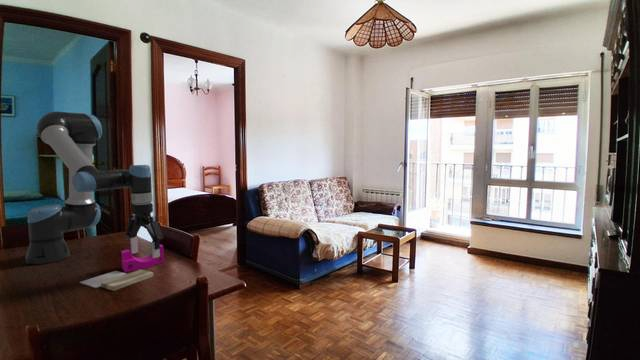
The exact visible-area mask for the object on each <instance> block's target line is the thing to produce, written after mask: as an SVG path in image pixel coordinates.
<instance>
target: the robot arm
mask: <svg viewBox="0 0 640 360" xmlns="http://www.w3.org/2000/svg"><path fill="white" fill-rule="evenodd" d="M36 131H37V132H36V133H37V135H38V137H39V138H40V139H41V141H42V142H43V143H44V144H47V145H49V146H50V147H51V149H52V150H53V151H54V152H55V154H56V155H57V156H58V157H59V158H60V159H61V161H62V162H63V164H64V165H65V166H66V167H67V168H68V198H67V199H66V200H65V201H64V206H62V205H61V204H58V203H55V204H54V203H53V204H50V205H49V204H47V205H42V206H38V207H34V208H32V209H30V210H29V211H28V212H27V220H26V222H27V227H28V239H29V246H28V249H27V252H26V254H25V263H26V264H28V265H43V264H51V263H55V262H59V261H62V260H65V259H68V258H69V257H70V256H71V254H70V249H69V247H68V245H67V243H66V240H65V239H64V233H69V232H73V231H78V230H85V229H89V228H93V227H95V226H97V224H98V223H99V222H100V220H101V217H102V216H101V215H102V211H101V207H100V205H99V204H98V203H96V200H95V199H94V198H93V197H92V192H98V191H108V190H117V189H118V190H119V189H130V195H131V196H130V199H131V214H129V221H128V224H127V229H126V232H125V236H126V237H128V238H129V243H130V244H129V245H130V252H131V255H133V254H136V253H137V254H138V253H139V240H138V239H139V238H138V237H139V236H138V233H139V230H140V229H141V227H142V228H144V229H146V231H147V232H148V234H149V236H150V238H151V240H152V241H151V252H152V253H151V254H152V256H153V258H156V257H158V258H160V257H159V256H160V241H161V240H164V236H163V233H162V230H161V227H160V225H159V223H158V217H157V215H152V213H153V212H154V207H153V206H154V205H153V203H152V202H153V191H152V189H153V188H152V187H153V185H152V173H151V166H150V165H148V164H136V165H135V164H131V165H130V166H129V167H128V168H129V169H115V170H113V169H112V170H98V169H97V167H96V166H95V165H94V164H93V163H92V161H93V147H94V146H96V144H97V141H98V140H100V139H101V138H102V136H103V126H102V124H101V121H100V120H99V118H97V116H95V115H93V114H88V113H84V112H83V113H81V112H66V111H65V112H63V111H51V112H48V113H46V114H44V115H42V116H41V118H40V119H39V120H38V122H37V125H36Z"/></svg>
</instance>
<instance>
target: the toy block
mask: <svg viewBox="0 0 640 360" xmlns="http://www.w3.org/2000/svg"><path fill="white" fill-rule="evenodd" d="M164 249H165V248H164V245H162V244H160V256H159V257H156V258H153V256H152V253H151V254H149V255H148V256H146V257H135V256H134V255H133V254H131V249H124V250H121V253H120V254H121V269H122V270H124V271H123V273H131V272H134V271H137V270H140V269H142V270H145V268H146V269H150V268H149V267H151V268H154V266H155V265H154V264H157V265H160V264H159V263H162V264H165V250H164Z"/></svg>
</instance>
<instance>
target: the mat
mask: <svg viewBox="0 0 640 360" xmlns="http://www.w3.org/2000/svg"><path fill="white" fill-rule="evenodd" d="M125 274H127V272H124V271H123V272H122V271H118V270H113V271H111V272H107V273H104V274H101V275H97V276H95V277H92V278H91V277H90V278H88V279H85V280H82V281H79V284H81V285H85V286H88V287H91V288H94V289H98V288H101V282H104V281H107V280H110V279H113V278H116V277H119V276H122V275H125Z"/></svg>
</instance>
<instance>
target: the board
mask: <svg viewBox="0 0 640 360" xmlns="http://www.w3.org/2000/svg"><path fill="white" fill-rule="evenodd" d="M153 277H154V272H153V271H149V270H145V269H140V270H136V271H130V272H127V273H126V274H125V275H122V276H119V277H116V278H113V279H110V280H107V281H104V282H101V286H100V288H103V289H107V290H110V291H119V290H120V289H123V288H126V287H128V286H131V285H133V284H136V283H140V282H141V281H144V280H147V279H150V278H153Z"/></svg>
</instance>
